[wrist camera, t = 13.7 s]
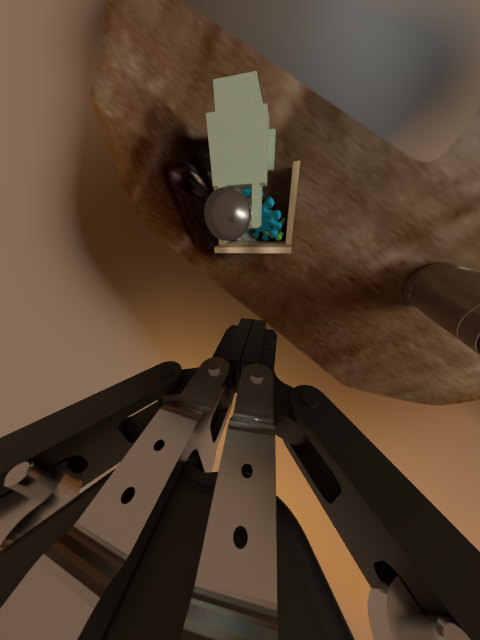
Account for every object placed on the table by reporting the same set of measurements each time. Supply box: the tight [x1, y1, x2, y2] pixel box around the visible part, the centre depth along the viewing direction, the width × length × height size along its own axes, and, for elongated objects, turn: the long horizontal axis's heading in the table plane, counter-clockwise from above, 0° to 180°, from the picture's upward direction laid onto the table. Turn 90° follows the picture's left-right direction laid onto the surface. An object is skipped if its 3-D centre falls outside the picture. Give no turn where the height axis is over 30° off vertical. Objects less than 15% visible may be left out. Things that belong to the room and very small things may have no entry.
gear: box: [242, 188, 286, 241], centre depth 33 cm, size 11×6×10 cm
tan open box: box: [214, 161, 300, 253], centre depth 32 cm, size 14×13×7 cm
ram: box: [204, 187, 252, 241], centre depth 21 cm, size 4×4×11 cm
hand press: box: [206, 71, 276, 228], centre depth 26 cm, size 6×13×17 cm, turn 2°
